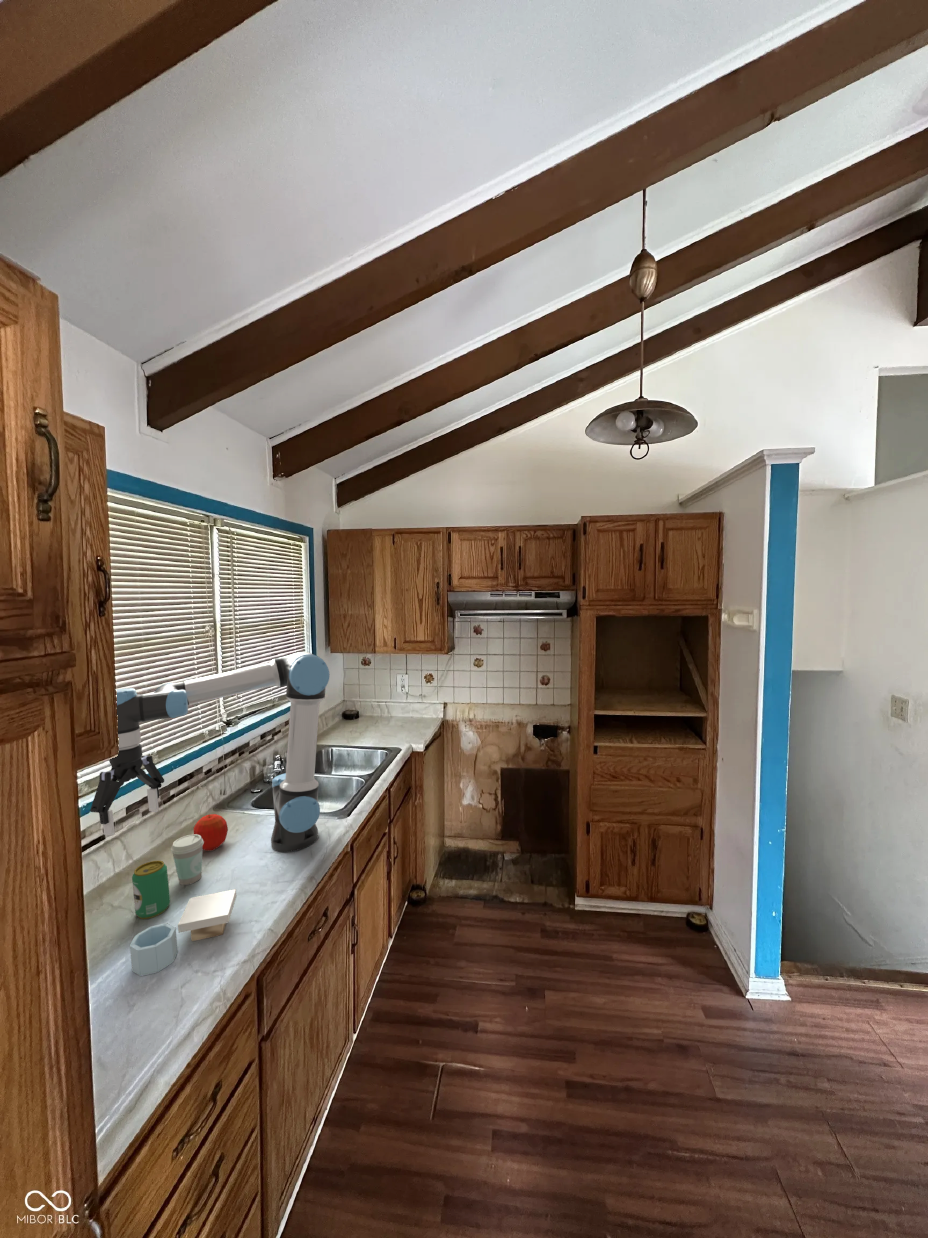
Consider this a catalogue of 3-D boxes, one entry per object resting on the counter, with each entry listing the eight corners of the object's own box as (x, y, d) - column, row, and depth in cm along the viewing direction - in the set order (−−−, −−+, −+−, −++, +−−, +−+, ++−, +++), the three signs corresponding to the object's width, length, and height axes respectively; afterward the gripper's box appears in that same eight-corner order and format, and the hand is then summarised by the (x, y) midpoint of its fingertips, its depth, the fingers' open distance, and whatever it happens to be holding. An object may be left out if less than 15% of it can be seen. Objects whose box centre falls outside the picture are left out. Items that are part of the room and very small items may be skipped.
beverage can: (131, 912, 135) (127, 869, 134) (164, 897, 141) (160, 856, 140) (141, 924, 129) (136, 879, 129) (174, 908, 135) (170, 865, 135)
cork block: (228, 917, 130) (226, 902, 130) (222, 934, 124) (221, 919, 123) (198, 923, 128) (197, 908, 128) (191, 941, 122) (190, 925, 121)
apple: (235, 840, 172) (232, 808, 171) (213, 856, 162) (210, 821, 161) (210, 838, 174) (207, 806, 173) (187, 854, 164) (184, 820, 164)
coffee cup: (192, 889, 144) (188, 848, 143) (167, 887, 146) (163, 847, 145) (212, 872, 152) (209, 834, 152) (188, 870, 154) (185, 832, 153)
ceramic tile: (236, 896, 132) (236, 889, 132) (228, 922, 122) (228, 914, 122) (190, 905, 130) (190, 898, 129) (178, 933, 119) (177, 925, 119)
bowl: (180, 944, 121) (178, 920, 120) (170, 969, 113) (167, 944, 112) (141, 953, 119) (139, 928, 118) (127, 979, 111) (125, 953, 110)
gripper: (153, 732, 148) (160, 802, 150) (67, 762, 124) (76, 844, 126) (173, 732, 146) (180, 803, 148) (90, 763, 122) (99, 846, 124)
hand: (132, 822), depth 137 cm, fingers open, 13 cm apart
